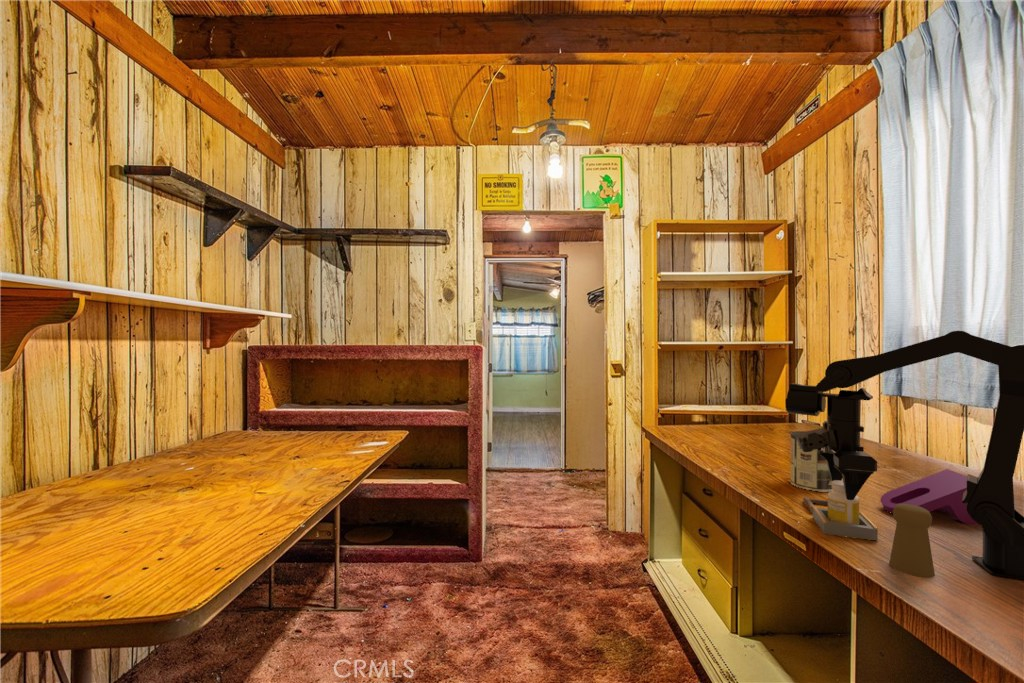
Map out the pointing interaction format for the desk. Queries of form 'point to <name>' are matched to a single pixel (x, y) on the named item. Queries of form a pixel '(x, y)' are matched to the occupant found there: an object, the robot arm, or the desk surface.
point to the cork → (912, 541)
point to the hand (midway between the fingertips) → (842, 492)
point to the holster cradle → (810, 502)
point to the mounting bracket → (933, 495)
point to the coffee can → (808, 468)
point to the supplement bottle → (842, 505)
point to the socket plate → (845, 526)
